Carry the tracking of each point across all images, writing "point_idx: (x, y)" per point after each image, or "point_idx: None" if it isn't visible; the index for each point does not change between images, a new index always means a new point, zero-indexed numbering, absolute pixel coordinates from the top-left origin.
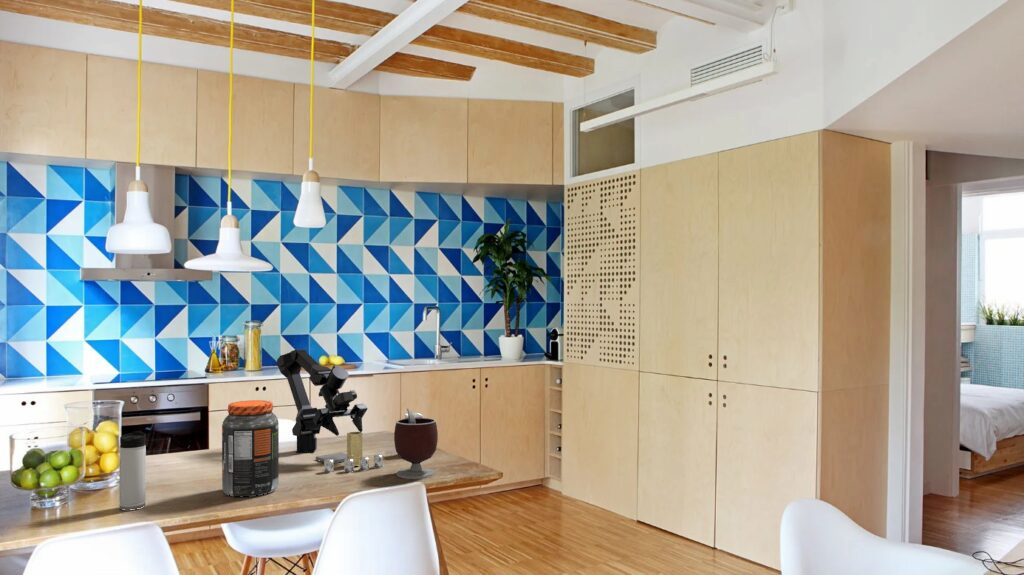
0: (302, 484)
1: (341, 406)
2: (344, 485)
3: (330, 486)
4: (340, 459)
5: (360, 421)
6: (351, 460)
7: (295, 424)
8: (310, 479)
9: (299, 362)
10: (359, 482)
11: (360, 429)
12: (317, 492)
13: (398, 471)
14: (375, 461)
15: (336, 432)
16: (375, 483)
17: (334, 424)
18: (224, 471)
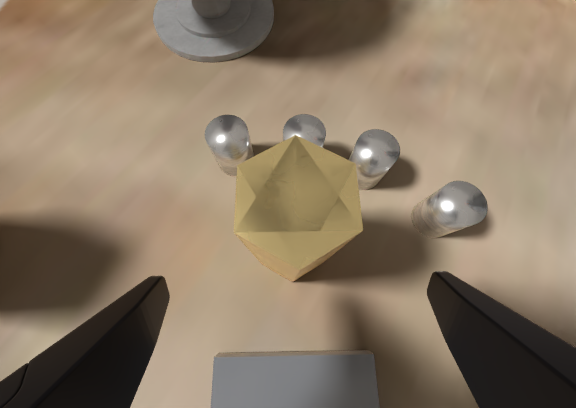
0: (568, 125)
1: None
2: (450, 42)
3: (491, 56)
4: (313, 355)
5: (47, 367)
6: (374, 130)
7: None
8: (528, 165)
9: None
10: (399, 42)
11: (156, 296)
12: (542, 30)
13: (245, 45)
14: (250, 141)
15: (466, 290)
16: (366, 10)
17: (563, 367)
18: None
